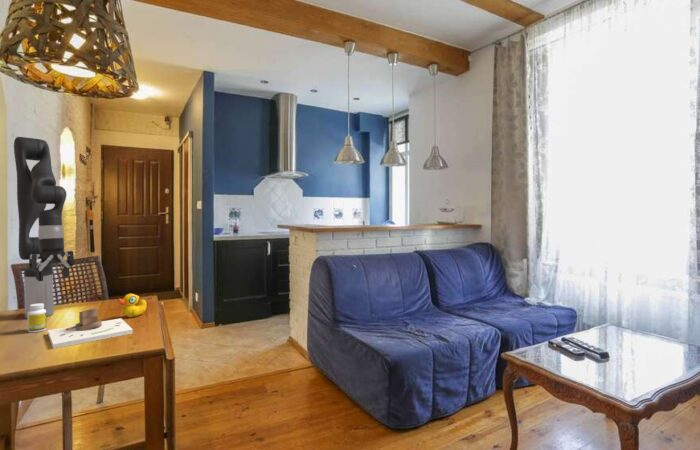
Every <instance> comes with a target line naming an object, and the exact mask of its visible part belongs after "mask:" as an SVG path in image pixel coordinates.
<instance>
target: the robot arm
mask: <svg viewBox="0 0 700 450" xmlns="http://www.w3.org/2000/svg"><path fill="white" fill-rule="evenodd" d="M50 152H51V151H50V145H49V144H48V142H47V141H46V140H44V139H41V138H33V137H26V136H24V137H23V136H16V137H15V139H14V142H13V154H14V161H15V168H16V169H15V170H16V197H17V198H16V200H17V211H18V254H19V258H20V259H21V260H23V261H26V260H27V261H28V267H26V269H24V270H23V271H24V272H23V281H24V282H23V283H24V285H23V286H24V287H23V289H24V290H23V291H24V318H26V319H28V316H27V314H28V312H29V311H31V309H30V305H32V304H37V303H43V304H44V308H43V309H45V310H46V318H47V317H49V316H52V315H54V281H53V280H54V279H53V278H54V276H53V274H54V273H53V271H54V269H53V267H54V265H53V264H58V265H60V266H61V267H62V278H64V279H67V278H69V276H70V267H73V266H75V255H74V251H73V250H66V251H65V240H64V239H65V238H64V227H63V210H64V205H65V202H66V199H67V191H66V189H65V188H64V187H63V186H61V185H57V180H56V177H55V175H54V172H53V168H52V159H51V153H50ZM27 161H37V163H35V164H34V165H33V167H32V168H31V169H30V167H29V165H28V162H27ZM47 205H54V206H53V207H52V208H50V209H46V207H47ZM37 220H38V235H37V236H33V237H31V236H30V233H31V230H32V228H33V226H34V225H35V223H36V221H37ZM64 257H66V259H65V258H64ZM37 260H39V262H38V261H37ZM37 262H38V263H37Z"/></svg>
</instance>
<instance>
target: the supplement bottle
mask: <svg viewBox="0 0 700 450" xmlns="http://www.w3.org/2000/svg"><path fill="white" fill-rule="evenodd" d="M43 308H44V304H43V303H37V304H32V305H30V309H31V311H29V312H28V314H27V316H28V318H27V332H28V333H39V332H43V331H46V330H47V317H46V310H45V309H43Z"/></svg>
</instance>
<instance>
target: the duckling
mask: <svg viewBox="0 0 700 450" xmlns="http://www.w3.org/2000/svg"><path fill="white" fill-rule="evenodd" d="M139 299H140V296H139V295H137V294H134V293H127V294H125V296H124V297H123V299H121V298H118V299H117V302H118V303H119V305H122V306H123V305H124V307H123V308H122V314H123V315H124V316H126V317H128V318H134V317H138V316H140V315H142V314H143V313H145V311H146V310H147V301H146V300H145V299H140V300H139Z"/></svg>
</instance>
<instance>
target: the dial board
mask: <svg viewBox="0 0 700 450" xmlns="http://www.w3.org/2000/svg"><path fill="white" fill-rule="evenodd" d="M101 321H102V325H101V326H100V327H98V328H95V329H90V330H76V329H75V328H73V329H71V330H66V328H70V327H73V326H74V325H72V326H67V327H60V328H53V329H49V330H47V336H48V338H49V341H50V344H51V347H52V349H54V350H55V349H59V348H65V347H69V346H74V345H80V344H86V343H90V342H95V341H101V340H105V339H112V338H115V337H120V336H126V335H130V334H131V335H132V334H133V333H134V332H133V331H134V330H133V328H132V327H131V326H130V325H129V324H128V323H127V322H126V321H125V320H123V318H120V317H119V318H115V319H108V320H101ZM111 337H112V338H111Z"/></svg>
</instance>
